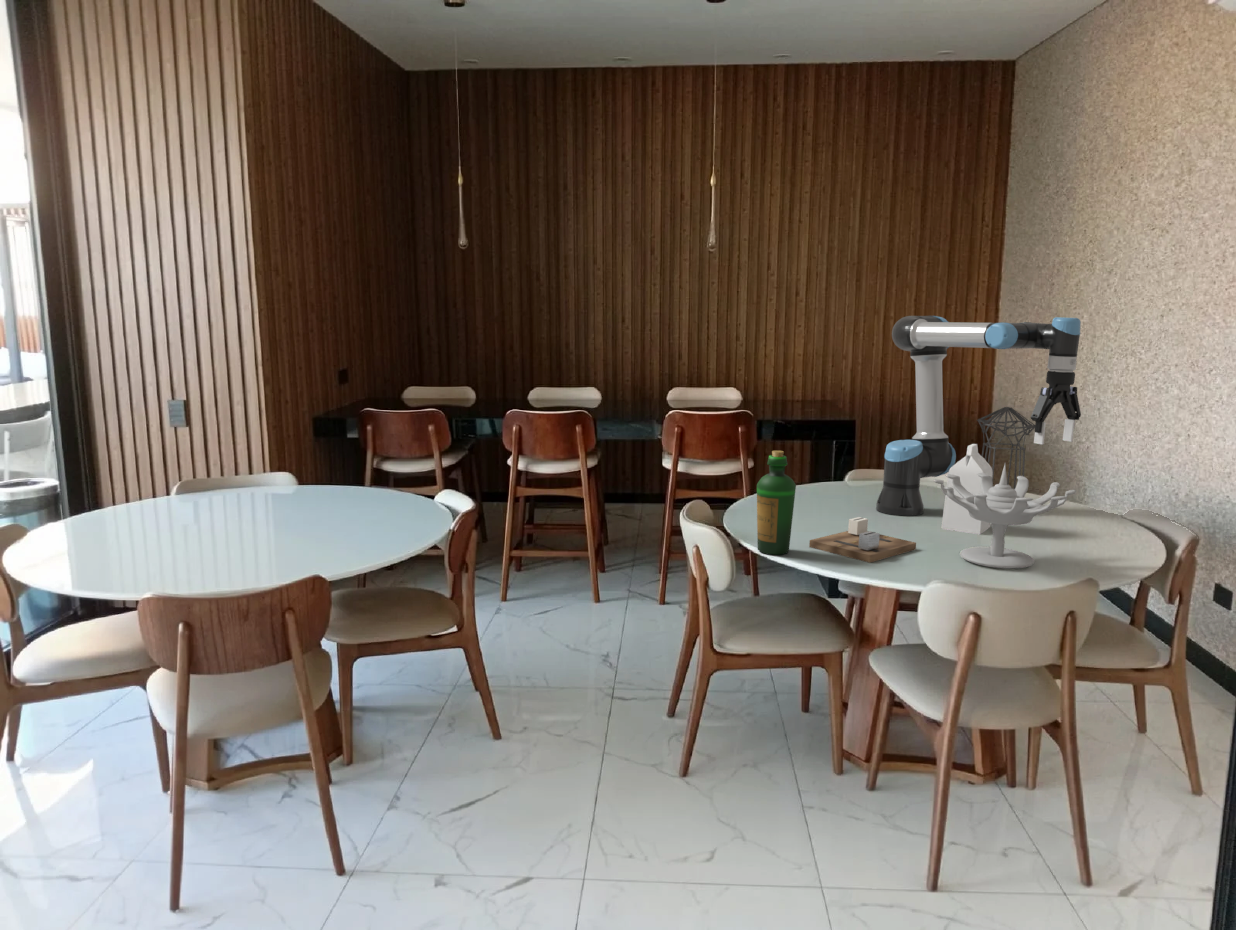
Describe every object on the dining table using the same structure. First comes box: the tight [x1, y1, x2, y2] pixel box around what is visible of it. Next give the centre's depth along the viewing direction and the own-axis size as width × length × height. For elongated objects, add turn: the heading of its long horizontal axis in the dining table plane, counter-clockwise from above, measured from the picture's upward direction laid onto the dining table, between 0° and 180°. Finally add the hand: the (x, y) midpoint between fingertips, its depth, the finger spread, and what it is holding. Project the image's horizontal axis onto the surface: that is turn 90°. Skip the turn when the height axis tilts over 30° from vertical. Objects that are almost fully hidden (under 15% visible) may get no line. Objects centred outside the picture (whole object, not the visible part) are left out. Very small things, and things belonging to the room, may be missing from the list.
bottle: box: [756, 450, 797, 556], centre depth 249 cm, size 11×11×28 cm
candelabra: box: [932, 463, 1077, 570], centre depth 243 cm, size 34×35×27 cm
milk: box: [940, 443, 993, 535], centre depth 281 cm, size 12×12×26 cm
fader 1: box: [847, 516, 869, 535], centre depth 264 cm, size 3×5×4 cm, turn 130°
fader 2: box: [859, 530, 881, 550], centre depth 248 cm, size 3×5×4 cm, turn 130°
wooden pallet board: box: [808, 530, 917, 563], centre depth 256 cm, size 20×22×2 cm
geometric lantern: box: [976, 406, 1035, 490], centre depth 307 cm, size 16×16×35 cm
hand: (1053, 442), depth 271 cm, fingers open, 13 cm apart
